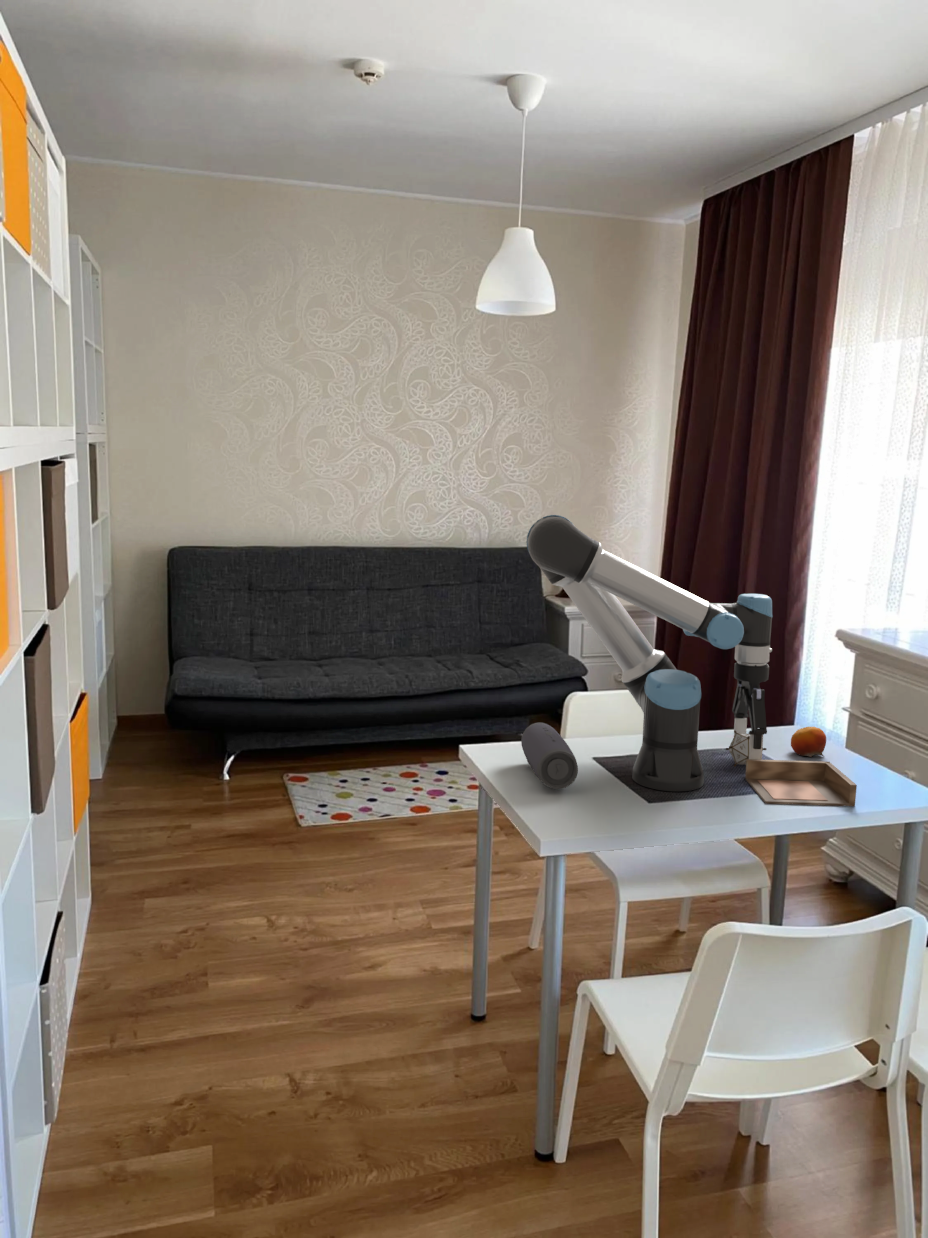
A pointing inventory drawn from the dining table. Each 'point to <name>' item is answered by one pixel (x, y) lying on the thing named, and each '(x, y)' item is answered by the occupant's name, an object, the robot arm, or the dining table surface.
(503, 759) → the dining table surface
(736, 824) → the dining table surface
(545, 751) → the bluetooth speaker
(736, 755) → the game die
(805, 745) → the fruit
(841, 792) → the brown wooden tray
